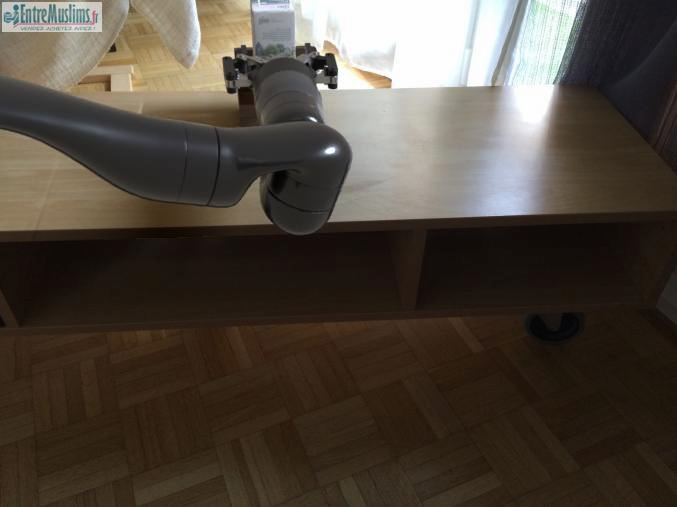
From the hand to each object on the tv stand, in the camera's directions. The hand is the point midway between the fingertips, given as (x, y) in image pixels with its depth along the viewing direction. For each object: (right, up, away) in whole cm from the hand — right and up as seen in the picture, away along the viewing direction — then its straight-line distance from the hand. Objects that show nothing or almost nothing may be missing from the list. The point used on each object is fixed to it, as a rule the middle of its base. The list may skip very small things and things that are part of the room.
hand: (275, 50), depth 82 cm
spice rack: (-1, -7, +12) cm, 14 cm away
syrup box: (-1, -5, +10) cm, 11 cm away
